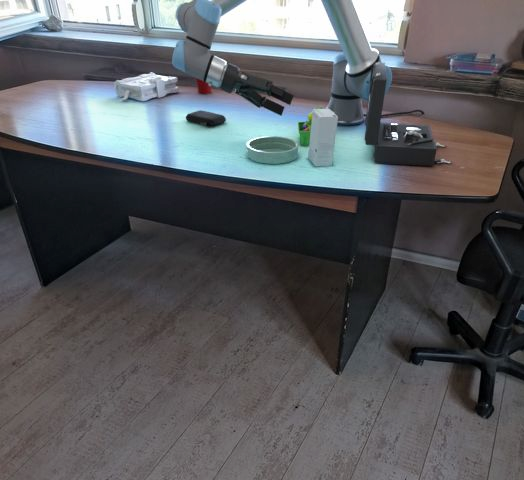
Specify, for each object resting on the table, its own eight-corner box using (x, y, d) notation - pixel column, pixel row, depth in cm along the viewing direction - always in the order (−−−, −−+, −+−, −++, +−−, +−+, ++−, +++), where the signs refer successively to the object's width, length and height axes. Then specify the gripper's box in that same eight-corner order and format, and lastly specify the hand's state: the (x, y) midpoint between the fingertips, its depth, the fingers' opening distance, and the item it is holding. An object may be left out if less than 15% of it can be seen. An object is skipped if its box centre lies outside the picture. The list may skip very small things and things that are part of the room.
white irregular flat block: (106, 98, 215) (102, 79, 210) (151, 87, 232) (149, 68, 227) (136, 105, 206) (132, 85, 201) (181, 92, 224) (179, 74, 219)
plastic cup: (207, 96, 218) (205, 66, 210) (188, 93, 222) (186, 63, 215) (221, 91, 225) (220, 62, 217) (202, 88, 229) (201, 60, 222)
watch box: (451, 168, 150) (474, 80, 134) (360, 162, 153) (372, 76, 137) (442, 142, 169) (461, 62, 153) (362, 138, 173) (372, 59, 157)
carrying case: (181, 122, 186) (209, 129, 180) (180, 114, 184) (209, 121, 178) (200, 116, 193) (228, 123, 186) (199, 108, 191) (228, 114, 184)
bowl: (299, 149, 163) (300, 137, 161) (294, 166, 151) (295, 154, 148) (251, 146, 165) (251, 135, 162) (242, 163, 152) (242, 151, 150)
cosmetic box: (307, 158, 156) (310, 108, 147) (325, 157, 157) (329, 107, 148) (315, 167, 150) (319, 116, 140) (333, 166, 151) (338, 115, 141)
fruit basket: (297, 136, 174) (298, 102, 166) (321, 136, 174) (324, 102, 166) (297, 146, 165) (299, 111, 158) (323, 147, 165) (326, 111, 158)
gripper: (216, 99, 158) (275, 126, 163) (222, 75, 134) (291, 108, 139) (224, 76, 157) (283, 104, 162) (231, 47, 133) (300, 81, 138)
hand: (287, 106), depth 150 cm, fingers open, 13 cm apart
